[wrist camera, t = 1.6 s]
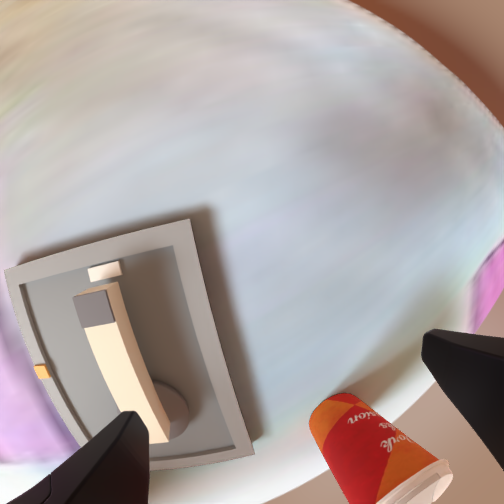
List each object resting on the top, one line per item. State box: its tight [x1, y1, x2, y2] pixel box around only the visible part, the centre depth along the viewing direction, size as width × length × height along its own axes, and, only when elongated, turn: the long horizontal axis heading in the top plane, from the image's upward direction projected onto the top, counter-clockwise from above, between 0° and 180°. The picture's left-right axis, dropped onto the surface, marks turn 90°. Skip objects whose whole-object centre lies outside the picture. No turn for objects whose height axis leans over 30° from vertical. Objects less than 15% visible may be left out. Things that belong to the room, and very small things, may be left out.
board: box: [4, 219, 255, 471], centre depth 19 cm, size 22×17×2 cm
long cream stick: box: [72, 282, 189, 444], centre depth 16 cm, size 14×6×4 cm, turn 12°
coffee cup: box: [309, 393, 453, 504], centre depth 17 cm, size 8×8×15 cm
